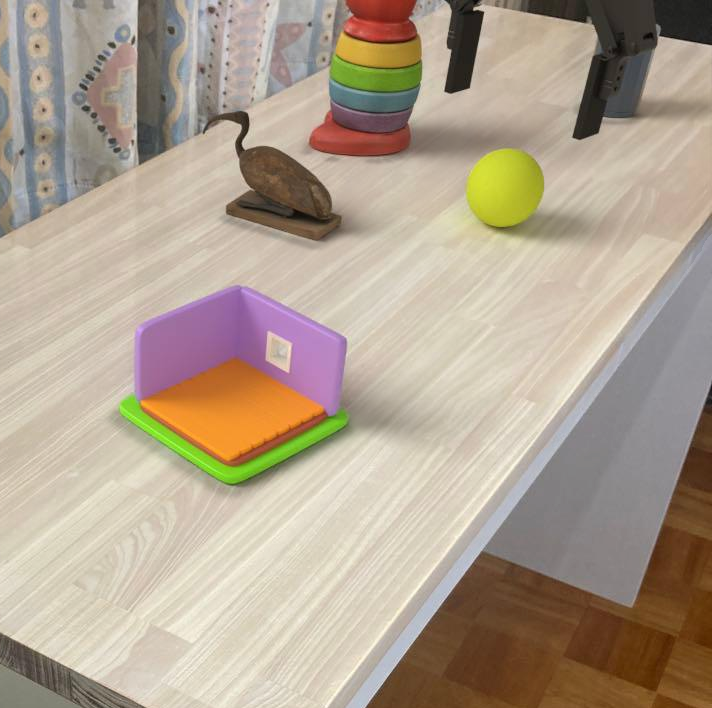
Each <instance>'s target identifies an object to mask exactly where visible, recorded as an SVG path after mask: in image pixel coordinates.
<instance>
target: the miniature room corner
mask: <svg viewBox="0 0 712 708" xmlns="http://www.w3.org/2000/svg"><path fill="white" fill-rule="evenodd" d="M280 344H283V346H286V347H287V353H286V356H284V355H282V354H280V353H279V351H280ZM347 350H348V339H347V338H346V336H344V335H342V334H341V333H338V332H337V331H335V330H333V329H331V328H329V327H327V326H325V325H324V324H321V323H319V322H318V321H316V320H314V319H312V318H311V317H308V316H306V315H304V314H302V313H301V312H298V311H296V310H295V309H292V308H290V307H289V306H287V305H284V304H282V303H281V302H279V301H277V300H275V299H273V298H271V297H270V296H267V295H266V294H263V293H261V292H259V291H258V290H255V289H253V288H251V287H249V286H247V285H243V286H242V285H238V284H235V285H232V286H228V287H226V288H224V289H221V290H219V291H215V292H214V293H210V294H209V295H206V296H203V297H201V298H197V299H196V300H193V301H190V302H188V303H186V304H184V305H182V306H179V307H177V308H174V309H172V310H170V311H167V312H164V313H162V314H160V315H157V316H154V317H152V318H150V319H148V320H146V321H144V322H142V323H140V324H139V325H138V326H137V327H136V329H135V332H134V353H133V354H134V355H133V356H134V357H133V360H134V362H133V363H134V365H133V367H134V369H133V371H134V373H133V374H134V378H133V379H134V380H133V381H134V393H133V394H131V395H129V396H128V397H125V398H124V399H123V400H121V401H120V403H119V412H120V414H121V415H122V416H123V417H125V418H126V419H127V420H128V421H130V422H132V424H134V425H136V426H137V427H139V428H140V429H141V430H143V431H144V432H146V433H147V434H149V435H150V436H151V437H153V438H155V440H157V441H159V442H160V443H162V444H163V445H165V446H166V447H168V448H169V449H171V450H172V451H175V452H176V453H177V454H178V455H180V456H181V457H183V458H184V459H186V460H188V461H189V462H190V463H192V464H194V465H195V466H197V467H199V468H200V469H201V470H203V471H204V472H206V473H207V474H209V475H211V476H212V477H213V478H215V479H217V480H219V481H220V482H223V483H225V484H228V485H234V484H239V483H241V482H244V481H246V480H248V479H251V478H252V477H253V476H256V475H258V474H260V473H262V472H264V471H265V470H267V469H269V468H271V467H273V466H275V465H276V464H279V463H280V462H282V461H284V460H286V459H289V458H290V457H292V456H294V455H295V454H297V453H299V452H302V451H303V450H305V449H307V448H308V447H310V446H312V445H314V444H316V443H318V442H320V441H322V440H324V439H325V438H327V437H329V436H330V435H332V434H334V433H337V431H339V430H341V429H343V428H344V427H345V426H346V425H347V424H348V421H349V414H348V412H346V410H345V409H343V408H342V407H340V402H341V396H342V388H343V381H344V372H345V367H346V359H347Z"/></svg>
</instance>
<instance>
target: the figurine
mask: <svg viewBox="0 0 712 708" xmlns="http://www.w3.org/2000/svg"><path fill="white" fill-rule="evenodd" d="M249 115H250V114H249V113H248V112H246V111H244V110H237V111H233V112H223V113H220V114H217V115H214V116H213V117H211V118H210V119H209V120H208V121H207V122H206V123H205V126H204V128H203V130H202V134H203V135H205V134H206V132H207V129H208V128H209V126H210V125H211V124H212V123H214V122H217V121H229V122H233V123H235V124H238V125H240V126H241V129H240V132H239V134H238V136H237V137H236V139H235V142H234V149H235V152H236V156H237V157H238V162H239V163H238V165H239V171H240V173H241V175H242V177H243V178H244V181H245V184H246V185H247V186H248V187H249V188H250V189H249V190H247V191H245V192H244V193H242V194H241V195H240V196H238V197H236V198H235V199H233V200H232V201H230V202H228V203H227V204H226V205H225V214H227V215H231V216H233V217H237V218H241V219H244V220H248V221H251V222H254V223H257V224H261V225H263V226H266V227H270V228H274V229H277V230H280V231H284V232H287V233H290V234H294V235H297V236H300V237H304V238H307V239H310V240H314V241H317V240H319V239H320V238H322V237H323V236H325V235H327V234H328V233H329V232H331V231H333V230H334V229H335V228H336V227H338V226H339V225H340V224H341V223H342V218H343V217H342V215H341V214H338V213H334V212H332V211H333V201H332V196H331V193H330V191H329V190H328V189H327V188H326V186H325V185H324V184H323V183H322V182H321V180H320V179H319V178H318V177H317V176H316V175H315V174H314V173H313V172H312V171H310V170H309V169H308V168H307V167H306V166H304V165H303V164H301V162H298V160H296V159H295V158H294V157H292V156H291V155H289V154H287V153H285V152H284V151H282V150H280V149H278V148H275V147H274V146H269V145H257V146H254V147H250V148H247V149H245V148H244V146H243V141H244V140H245V138H246V136H247V135H248V133H249V130H250V116H249Z"/></svg>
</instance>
